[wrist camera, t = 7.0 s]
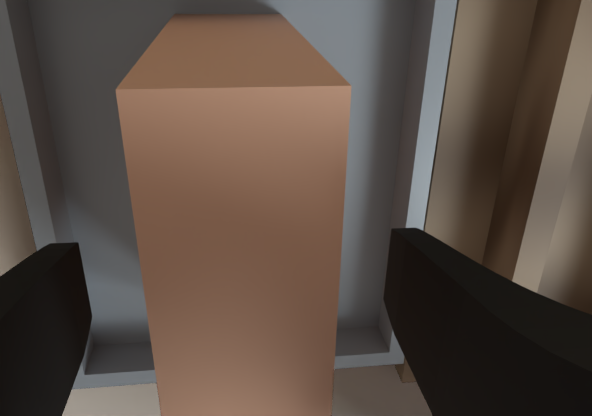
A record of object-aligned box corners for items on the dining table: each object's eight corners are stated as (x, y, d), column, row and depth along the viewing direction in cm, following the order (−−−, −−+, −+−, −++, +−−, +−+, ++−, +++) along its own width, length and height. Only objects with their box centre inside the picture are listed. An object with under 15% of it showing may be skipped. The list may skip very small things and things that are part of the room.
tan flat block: (280, 299, 19) (323, 547, 11) (199, 305, 19) (182, 565, 11) (280, 14, 15) (351, 85, 7) (174, 13, 14) (115, 89, 6)
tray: (388, 329, 21) (403, 363, 19) (82, 350, 20) (69, 389, 18) (436, -54, 15) (465, -55, 13) (-3, -66, 13) (-38, -69, 12)
